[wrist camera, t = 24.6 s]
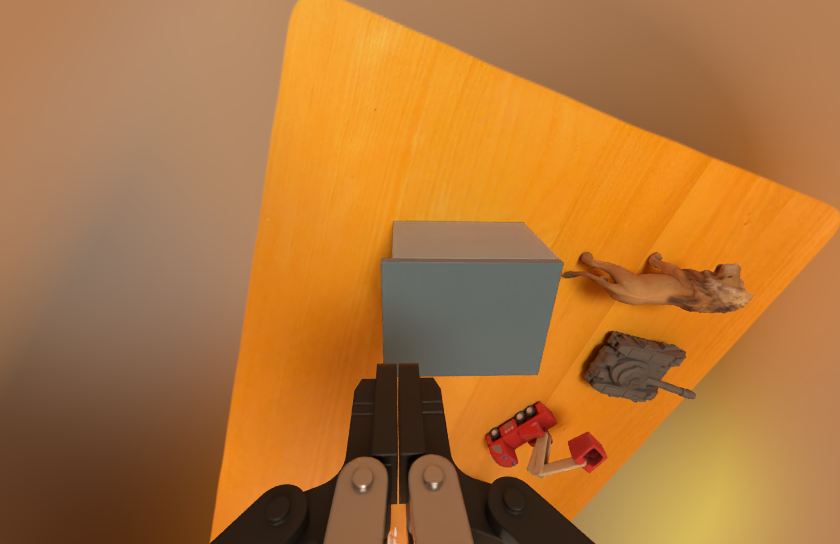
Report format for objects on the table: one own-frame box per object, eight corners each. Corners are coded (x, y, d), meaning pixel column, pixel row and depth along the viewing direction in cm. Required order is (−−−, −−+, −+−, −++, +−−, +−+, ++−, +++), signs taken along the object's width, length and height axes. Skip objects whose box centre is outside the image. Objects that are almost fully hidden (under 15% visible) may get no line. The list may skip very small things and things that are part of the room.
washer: (394, 315, 41) (392, 370, 33) (393, 220, 36) (391, 257, 28) (508, 315, 42) (534, 368, 34) (523, 222, 37) (559, 258, 28)
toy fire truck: (482, 434, 51) (498, 503, 42) (561, 384, 47) (597, 448, 39) (495, 445, 52) (514, 514, 44) (574, 397, 49) (611, 461, 40)
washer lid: (384, 371, 33) (383, 377, 32) (381, 257, 28) (381, 262, 27) (535, 369, 34) (537, 375, 33) (559, 258, 28) (564, 263, 28)
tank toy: (688, 341, 45) (721, 369, 41) (646, 394, 49) (672, 425, 44) (608, 321, 43) (634, 348, 38) (571, 377, 47) (590, 408, 42)
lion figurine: (696, 237, 39) (774, 274, 31) (685, 279, 41) (754, 324, 33) (563, 253, 39) (606, 294, 31) (560, 295, 41) (599, 343, 33)
